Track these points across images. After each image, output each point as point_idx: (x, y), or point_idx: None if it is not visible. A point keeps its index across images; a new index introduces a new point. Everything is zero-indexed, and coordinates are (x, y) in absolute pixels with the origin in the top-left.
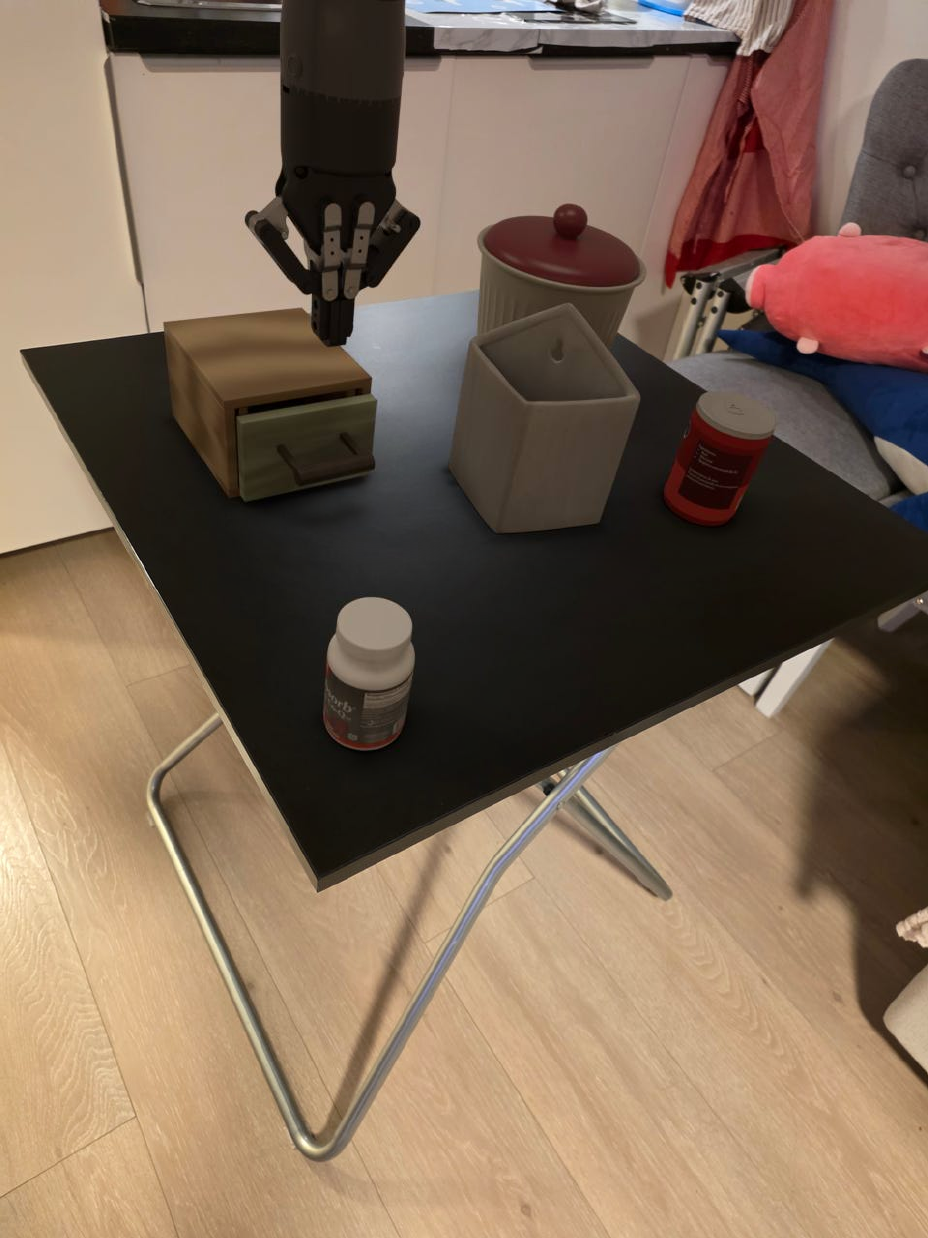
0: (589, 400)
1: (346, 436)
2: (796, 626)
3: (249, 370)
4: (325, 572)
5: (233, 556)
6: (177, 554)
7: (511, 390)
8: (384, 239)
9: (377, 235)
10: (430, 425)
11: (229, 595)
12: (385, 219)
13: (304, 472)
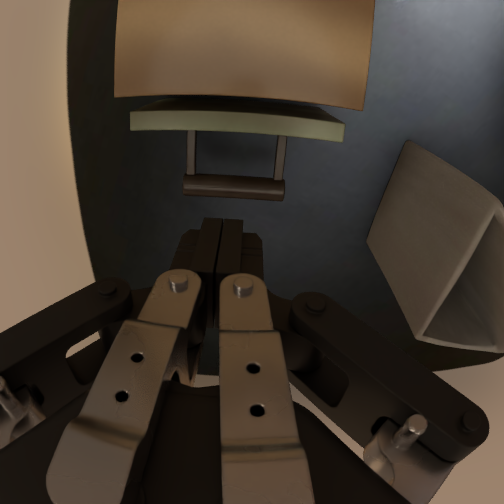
0: (465, 347)
1: (282, 138)
2: (428, 367)
3: (184, 23)
4: (197, 218)
5: (133, 168)
6: (93, 149)
7: (429, 315)
8: (361, 420)
9: (371, 399)
10: (440, 70)
11: (117, 210)
12: (375, 465)
13: (189, 193)
